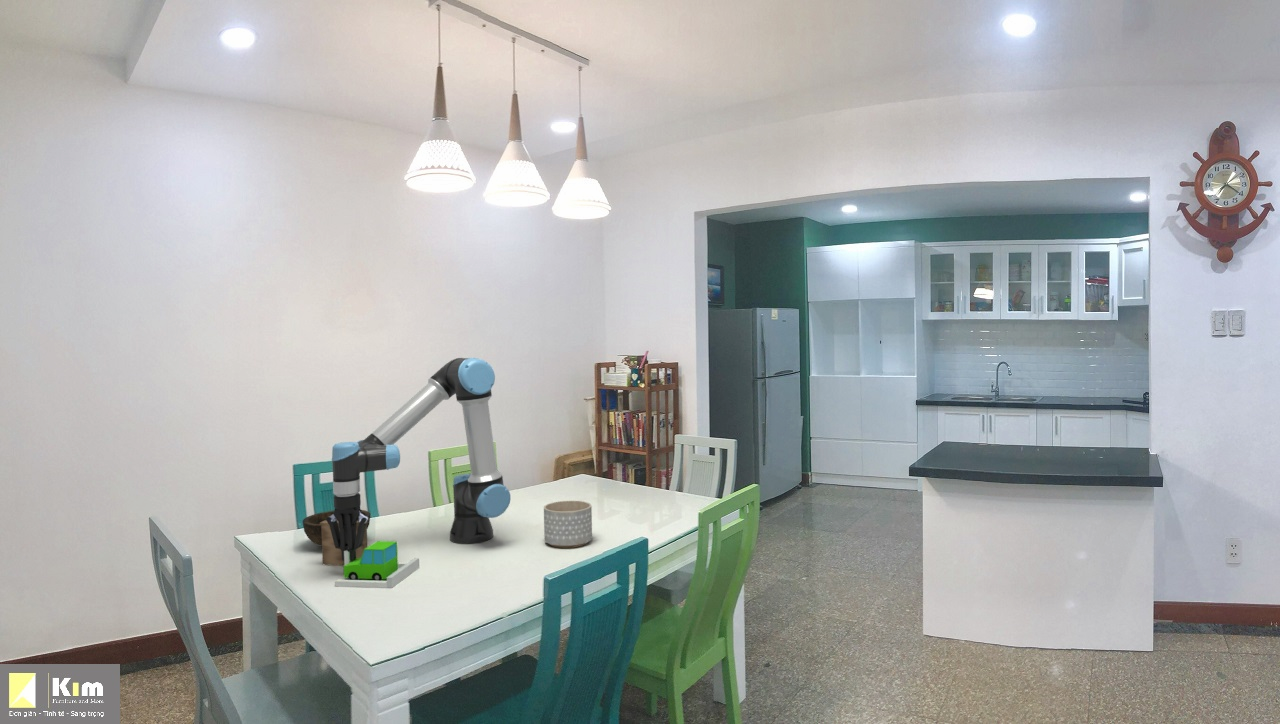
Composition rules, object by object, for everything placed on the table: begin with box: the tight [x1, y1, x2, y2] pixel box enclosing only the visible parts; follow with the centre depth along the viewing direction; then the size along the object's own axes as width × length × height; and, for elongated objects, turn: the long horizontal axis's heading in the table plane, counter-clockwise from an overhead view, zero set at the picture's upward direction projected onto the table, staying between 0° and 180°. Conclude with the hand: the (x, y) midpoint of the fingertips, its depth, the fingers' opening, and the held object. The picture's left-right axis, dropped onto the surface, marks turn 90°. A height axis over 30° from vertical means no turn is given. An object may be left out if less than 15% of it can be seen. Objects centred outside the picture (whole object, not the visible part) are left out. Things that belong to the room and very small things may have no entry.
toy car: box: [343, 540, 399, 581], centre depth 213 cm, size 10×13×10 cm
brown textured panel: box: [320, 520, 368, 566], centre depth 226 cm, size 15×3×14 cm, turn 83°
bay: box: [334, 557, 420, 589], centre depth 214 cm, size 18×18×3 cm
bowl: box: [302, 509, 371, 547], centre depth 248 cm, size 22×22×10 cm
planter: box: [543, 500, 593, 549], centre depth 246 cm, size 16×16×13 cm
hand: (349, 571), depth 215 cm, fingers closed
